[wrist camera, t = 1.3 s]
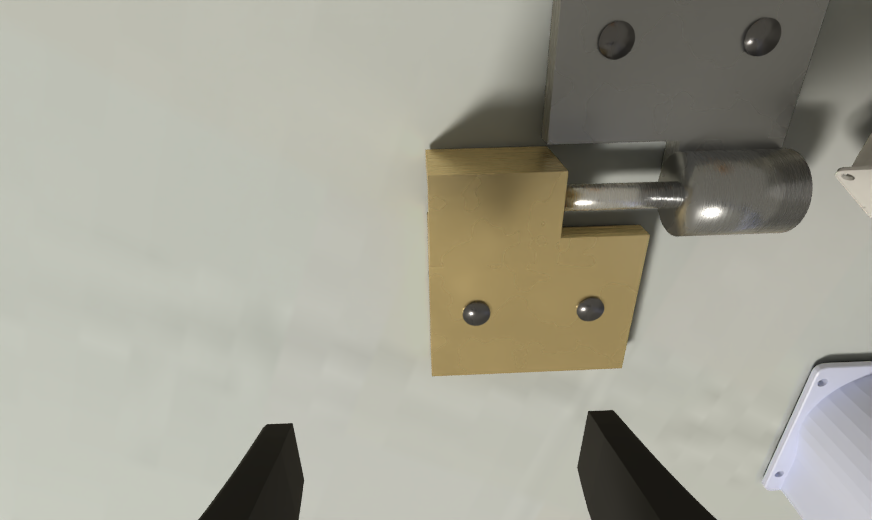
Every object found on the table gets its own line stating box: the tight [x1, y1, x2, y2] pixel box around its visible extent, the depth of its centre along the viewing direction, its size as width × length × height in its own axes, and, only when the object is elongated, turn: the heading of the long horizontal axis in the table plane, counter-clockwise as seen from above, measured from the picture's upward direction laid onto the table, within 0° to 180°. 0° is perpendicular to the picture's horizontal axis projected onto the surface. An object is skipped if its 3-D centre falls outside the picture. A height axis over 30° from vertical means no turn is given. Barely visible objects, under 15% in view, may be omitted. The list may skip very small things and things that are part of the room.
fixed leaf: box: [541, 0, 830, 236], centre depth 17 cm, size 10×9×3 cm
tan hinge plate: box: [426, 146, 650, 376], centre depth 20 cm, size 10×9×3 cm
